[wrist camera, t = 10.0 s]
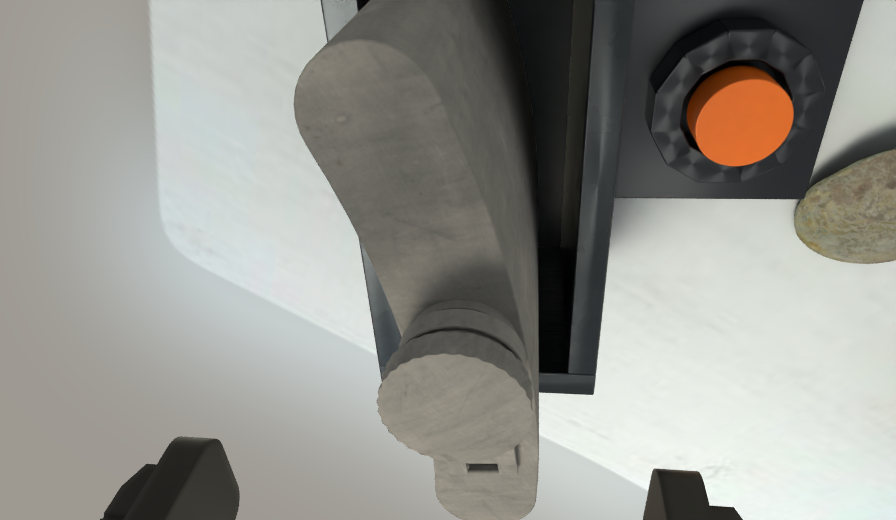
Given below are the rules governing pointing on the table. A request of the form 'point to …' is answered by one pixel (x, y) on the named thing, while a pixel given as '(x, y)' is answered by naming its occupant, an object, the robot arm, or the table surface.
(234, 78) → the table surface
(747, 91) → the button
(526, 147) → the hip flask
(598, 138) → the black storage bin
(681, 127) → the control panel
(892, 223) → the soupspoon
